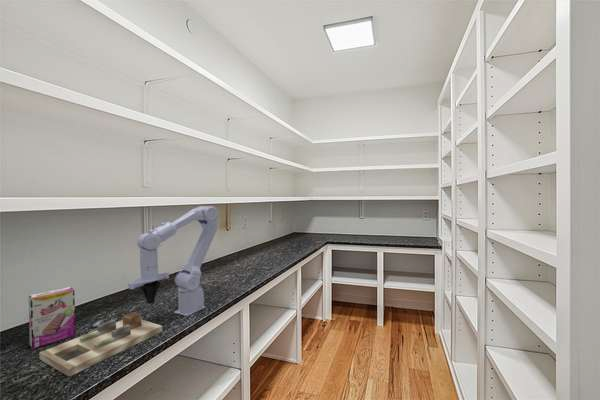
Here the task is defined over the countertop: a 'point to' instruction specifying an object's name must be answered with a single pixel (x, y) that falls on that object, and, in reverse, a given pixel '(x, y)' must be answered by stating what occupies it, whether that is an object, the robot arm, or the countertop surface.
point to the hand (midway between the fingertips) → (150, 302)
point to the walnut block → (132, 320)
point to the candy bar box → (51, 316)
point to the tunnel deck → (97, 345)
